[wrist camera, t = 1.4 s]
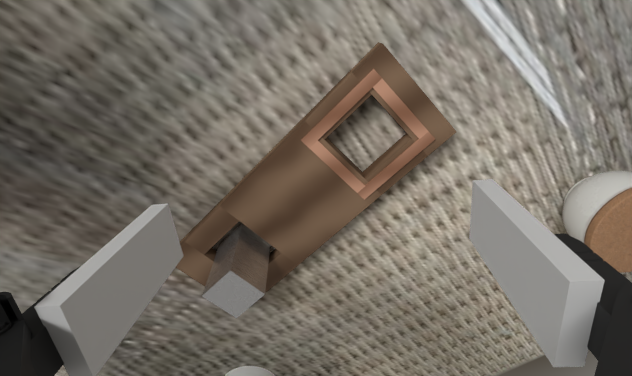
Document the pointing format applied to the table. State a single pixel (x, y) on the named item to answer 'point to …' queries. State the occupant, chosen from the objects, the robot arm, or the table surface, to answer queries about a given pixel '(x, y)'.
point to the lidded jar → (602, 216)
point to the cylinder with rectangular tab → (249, 371)
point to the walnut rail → (321, 172)
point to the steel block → (238, 271)
